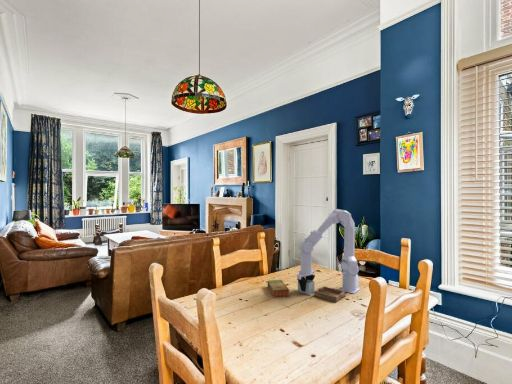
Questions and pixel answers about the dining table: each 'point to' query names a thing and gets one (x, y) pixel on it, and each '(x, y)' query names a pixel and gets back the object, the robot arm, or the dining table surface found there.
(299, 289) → the small crate
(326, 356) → the dining table surface
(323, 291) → the big crate
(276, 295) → the carton
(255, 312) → the dining table surface
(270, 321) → the dining table surface
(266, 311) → the dining table surface
